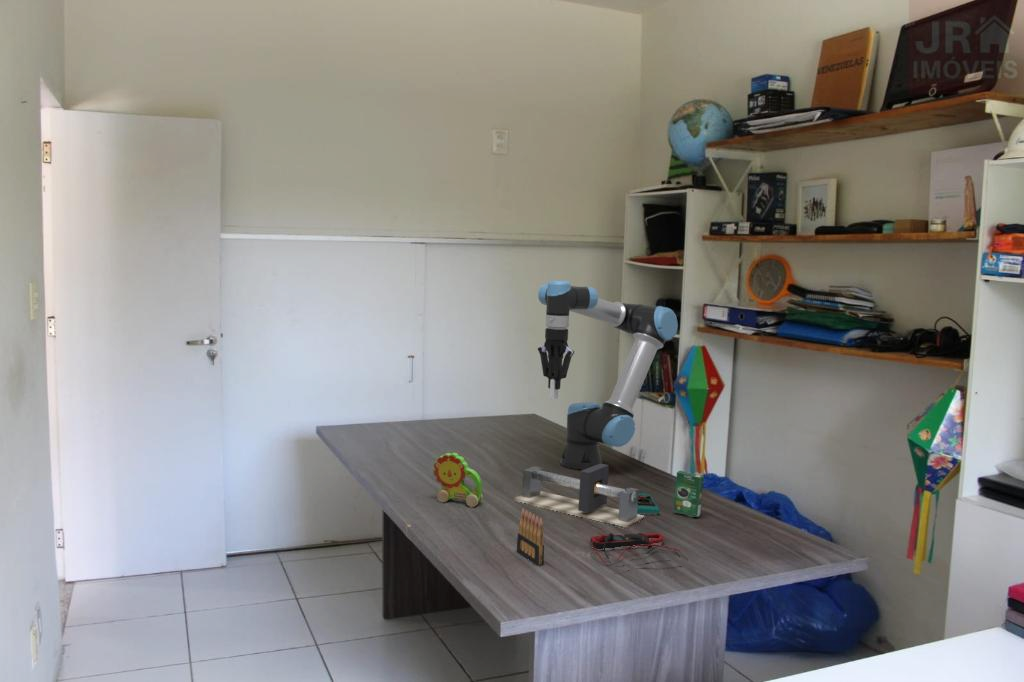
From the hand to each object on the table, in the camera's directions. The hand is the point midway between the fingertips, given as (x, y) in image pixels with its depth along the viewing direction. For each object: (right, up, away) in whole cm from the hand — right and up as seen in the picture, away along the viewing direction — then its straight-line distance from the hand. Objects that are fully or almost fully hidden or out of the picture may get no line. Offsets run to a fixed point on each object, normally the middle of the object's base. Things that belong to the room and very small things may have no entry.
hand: (553, 398), depth 281 cm
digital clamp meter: (+19, -38, -58) cm, 72 cm away
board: (+6, -32, -22) cm, 40 cm away
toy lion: (-31, -31, -20) cm, 48 cm away
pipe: (+6, -32, -22) cm, 40 cm away
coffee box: (+39, -34, -23) cm, 57 cm away
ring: (+11, -31, -25) cm, 41 cm away
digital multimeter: (+27, -33, -17) cm, 46 cm away
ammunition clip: (-9, -37, -64) cm, 74 cm away
